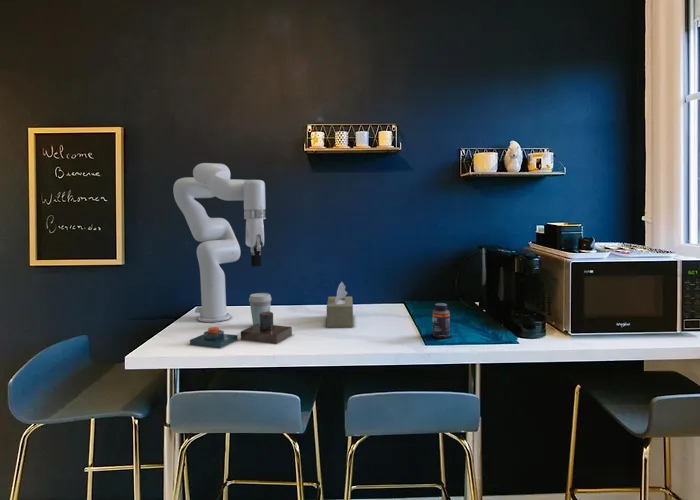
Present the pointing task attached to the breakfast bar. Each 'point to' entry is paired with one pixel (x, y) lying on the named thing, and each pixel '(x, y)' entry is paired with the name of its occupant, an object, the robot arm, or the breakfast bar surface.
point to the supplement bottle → (441, 320)
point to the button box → (213, 339)
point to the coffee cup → (259, 305)
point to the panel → (266, 334)
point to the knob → (266, 321)
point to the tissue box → (340, 309)
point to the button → (213, 330)
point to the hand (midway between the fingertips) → (256, 265)
